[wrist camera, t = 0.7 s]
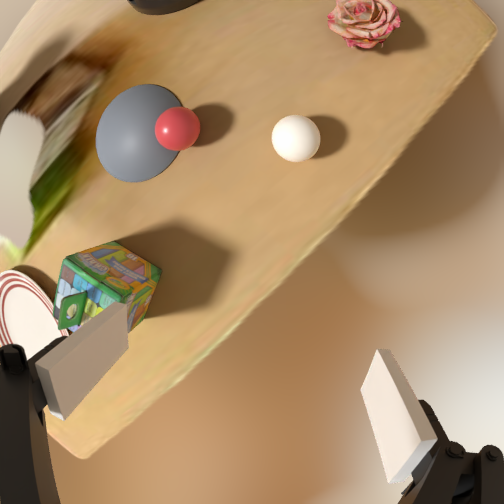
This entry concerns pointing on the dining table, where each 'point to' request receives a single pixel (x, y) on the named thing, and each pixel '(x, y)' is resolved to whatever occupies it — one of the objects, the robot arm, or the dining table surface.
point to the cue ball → (296, 138)
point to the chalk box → (103, 285)
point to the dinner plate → (26, 314)
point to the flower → (364, 21)
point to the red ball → (177, 128)
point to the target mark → (134, 134)
